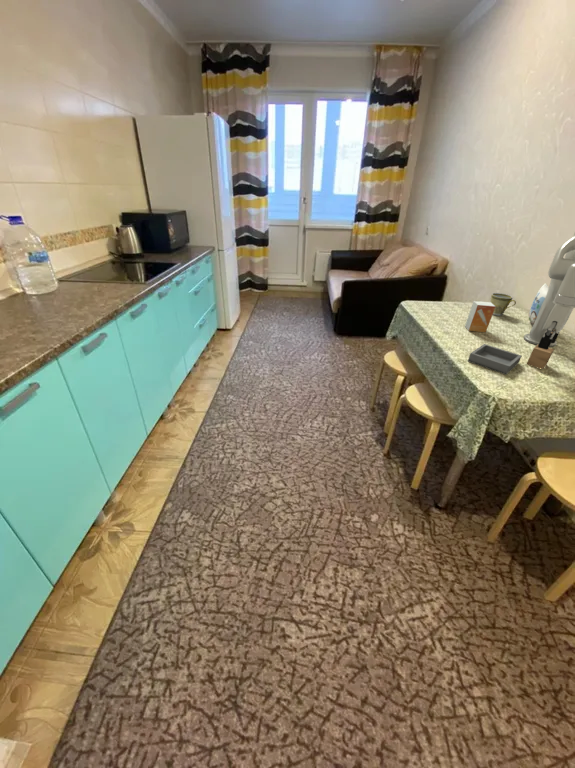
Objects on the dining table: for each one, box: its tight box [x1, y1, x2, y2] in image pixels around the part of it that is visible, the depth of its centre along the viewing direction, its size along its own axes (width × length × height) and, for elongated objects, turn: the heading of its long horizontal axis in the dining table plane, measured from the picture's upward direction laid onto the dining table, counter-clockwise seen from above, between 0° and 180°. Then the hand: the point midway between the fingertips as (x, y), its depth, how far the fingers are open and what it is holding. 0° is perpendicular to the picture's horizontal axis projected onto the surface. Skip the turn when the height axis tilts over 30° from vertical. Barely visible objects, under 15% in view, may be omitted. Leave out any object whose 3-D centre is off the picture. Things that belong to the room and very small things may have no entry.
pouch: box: [528, 282, 549, 326], centre depth 159 cm, size 8×19×20 cm, turn 154°
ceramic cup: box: [490, 292, 517, 317], centre depth 178 cm, size 13×10×10 cm
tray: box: [467, 343, 522, 376], centre depth 129 cm, size 14×14×4 cm
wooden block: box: [526, 344, 555, 370], centre depth 128 cm, size 6×6×7 cm
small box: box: [464, 300, 496, 333], centre depth 156 cm, size 8×6×13 cm
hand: (546, 345), depth 124 cm, fingers open, 9 cm apart
